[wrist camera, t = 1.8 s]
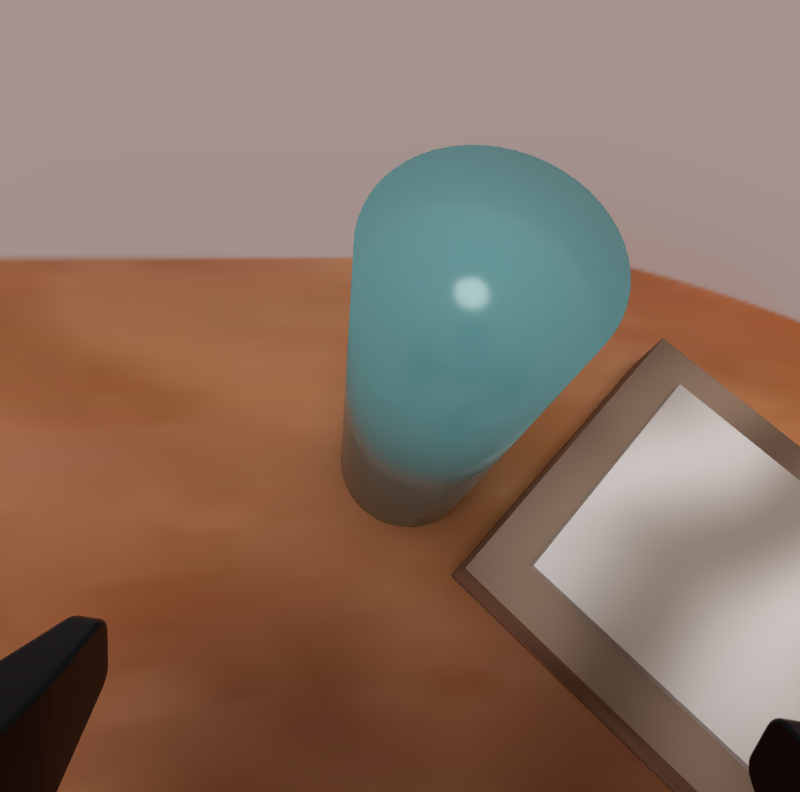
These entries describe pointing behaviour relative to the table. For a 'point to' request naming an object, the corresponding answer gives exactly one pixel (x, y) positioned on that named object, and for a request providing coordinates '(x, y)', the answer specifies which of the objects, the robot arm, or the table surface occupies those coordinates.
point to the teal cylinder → (468, 320)
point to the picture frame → (661, 572)
